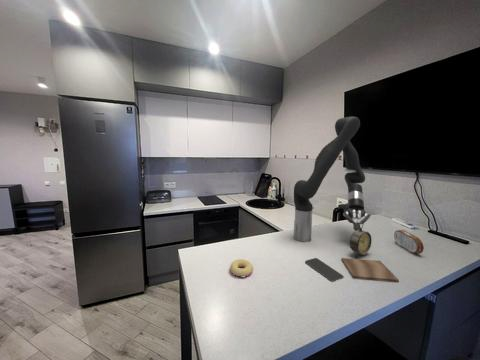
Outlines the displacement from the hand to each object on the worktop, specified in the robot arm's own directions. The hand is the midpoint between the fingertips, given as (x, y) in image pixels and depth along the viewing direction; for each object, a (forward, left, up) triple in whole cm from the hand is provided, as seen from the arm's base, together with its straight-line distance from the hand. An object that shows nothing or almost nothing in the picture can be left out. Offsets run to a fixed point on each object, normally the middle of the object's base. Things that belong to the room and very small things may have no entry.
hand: (357, 230), depth 98 cm
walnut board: (-3, -19, -9) cm, 22 cm away
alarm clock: (-1, -6, -10) cm, 12 cm away
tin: (+25, +3, -10) cm, 27 cm away
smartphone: (-21, -21, -10) cm, 31 cm away
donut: (-55, -27, -10) cm, 62 cm away
